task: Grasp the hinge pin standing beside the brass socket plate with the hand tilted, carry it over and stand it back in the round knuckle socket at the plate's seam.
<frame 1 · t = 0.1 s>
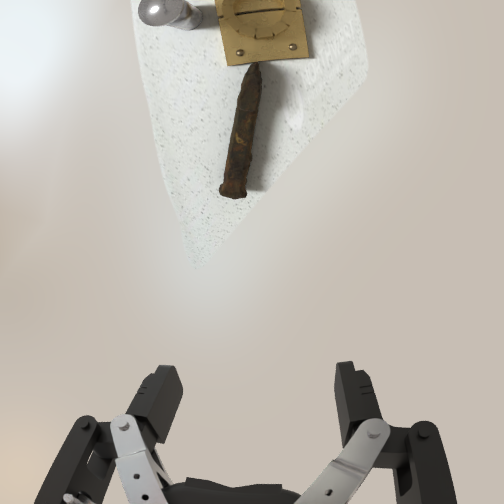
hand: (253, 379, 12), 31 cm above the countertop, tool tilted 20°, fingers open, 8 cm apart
hand tool: (240, 127, 35), on the countertop
hinge pin: (188, 18, 24), on the countertop
brass socket plate: (259, 12, 24), on the countertop
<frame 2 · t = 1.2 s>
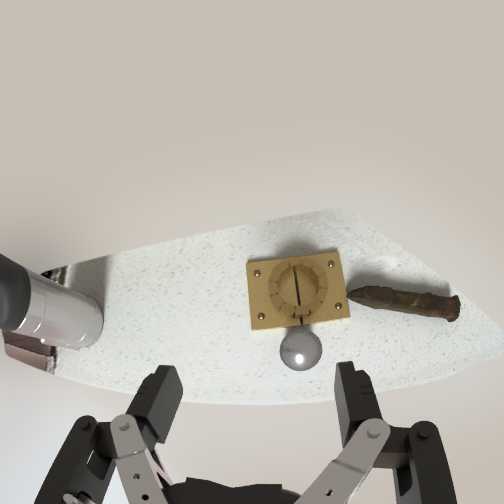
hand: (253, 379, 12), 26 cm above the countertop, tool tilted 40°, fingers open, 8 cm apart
hand tool: (401, 309, 37), on the countertop
hinge pin: (296, 352, 37), on the countertop
brass socket plate: (297, 291, 40), on the countertop
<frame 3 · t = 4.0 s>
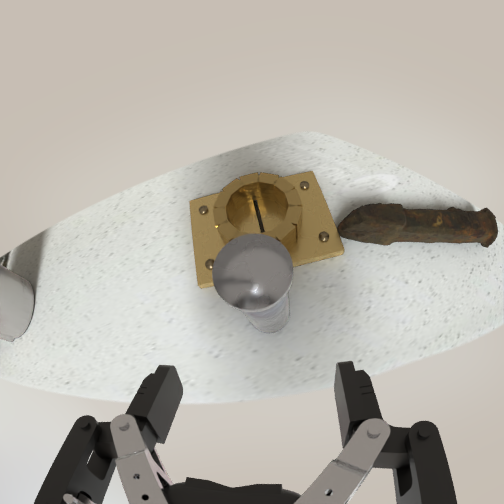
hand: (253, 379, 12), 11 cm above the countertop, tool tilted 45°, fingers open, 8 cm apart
hand tool: (420, 241, 25), on the countertop
hinge pin: (269, 313, 24), on the countertop
brass socket plate: (261, 227, 28), on the countertop
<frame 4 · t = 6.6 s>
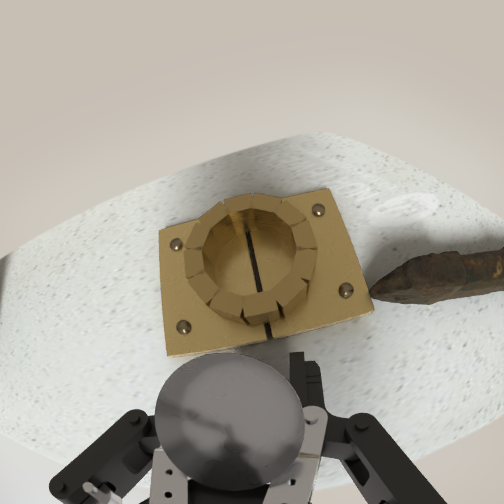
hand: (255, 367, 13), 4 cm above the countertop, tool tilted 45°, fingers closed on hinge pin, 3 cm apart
hand tool: (468, 290, 17), on the countertop
hinge pin: (264, 397, 16), on the countertop, touching gripper
brass socket plate: (256, 271, 20), on the countertop
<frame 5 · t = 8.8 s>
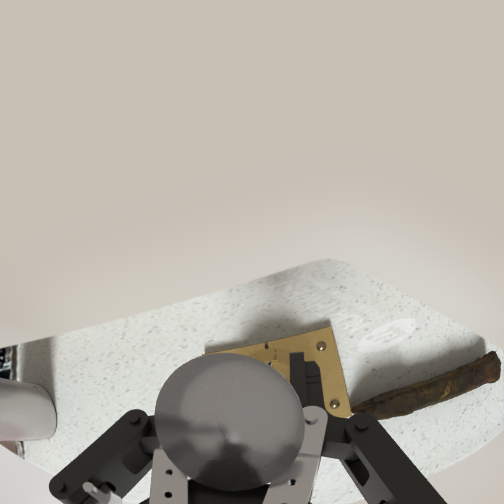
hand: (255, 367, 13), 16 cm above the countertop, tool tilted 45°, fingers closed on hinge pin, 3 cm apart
hand tool: (426, 394, 23), on the countertop
hinge pin: (264, 397, 16), point 12 cm above the countertop, touching gripper
brass socket plate: (275, 387, 26), on the countertop
when the fingers open (7 cm above the countertop, at t = 11.0 s): hinge pin drops 2 cm, resting on brass socket plate.
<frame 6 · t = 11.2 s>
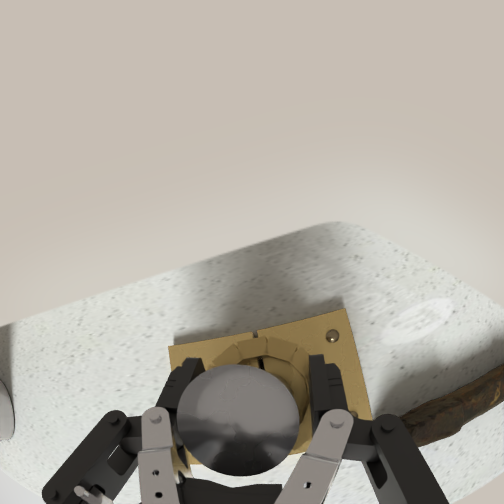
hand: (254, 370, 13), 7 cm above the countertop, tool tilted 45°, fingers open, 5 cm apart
hand tool: (467, 401, 15), on the countertop
hinge pin: (267, 396, 18), point 1 cm above the countertop, touching brass socket plate
brass socket plate: (268, 394, 19), on the countertop
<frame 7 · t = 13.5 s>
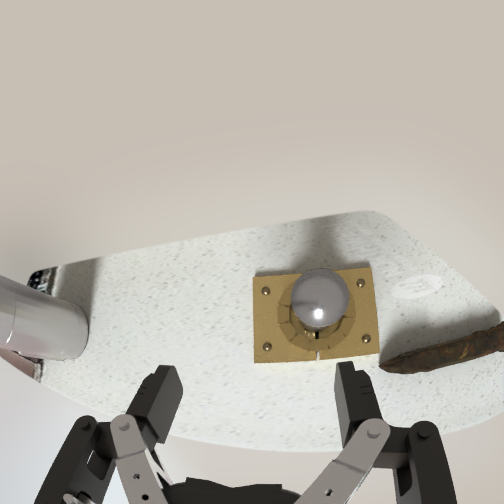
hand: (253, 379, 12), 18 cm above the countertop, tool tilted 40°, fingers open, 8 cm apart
hand tool: (446, 357, 25), on the countertop
hinge pin: (315, 316, 29), point 1 cm above the countertop, touching brass socket plate
brass socket plate: (315, 316, 30), on the countertop
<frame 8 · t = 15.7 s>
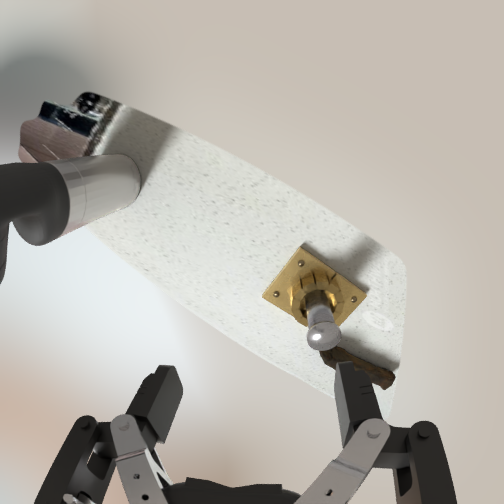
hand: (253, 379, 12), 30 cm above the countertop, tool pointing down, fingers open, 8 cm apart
hand tool: (353, 361, 49), on the countertop
hinge pin: (315, 297, 43), point 1 cm above the countertop, touching brass socket plate
brass socket plate: (315, 294, 44), on the countertop
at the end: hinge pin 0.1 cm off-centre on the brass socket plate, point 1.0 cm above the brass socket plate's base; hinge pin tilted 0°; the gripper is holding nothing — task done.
